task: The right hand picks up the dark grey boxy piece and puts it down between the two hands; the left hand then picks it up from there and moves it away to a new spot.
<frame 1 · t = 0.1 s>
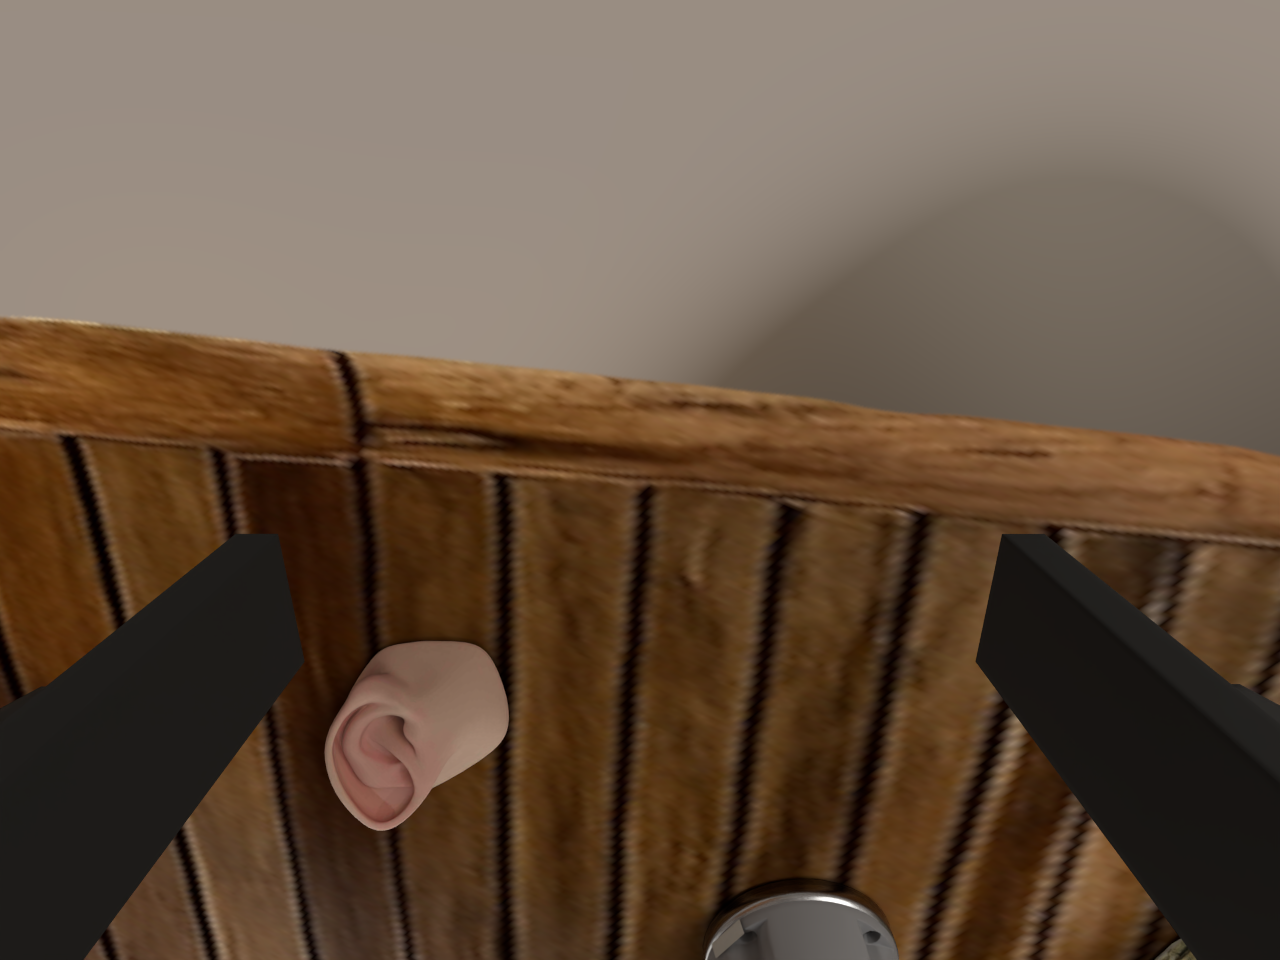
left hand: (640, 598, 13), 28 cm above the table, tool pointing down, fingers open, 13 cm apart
anatomical model: (424, 712, 48), on the table
fossil: (1200, 954, 57), on the table
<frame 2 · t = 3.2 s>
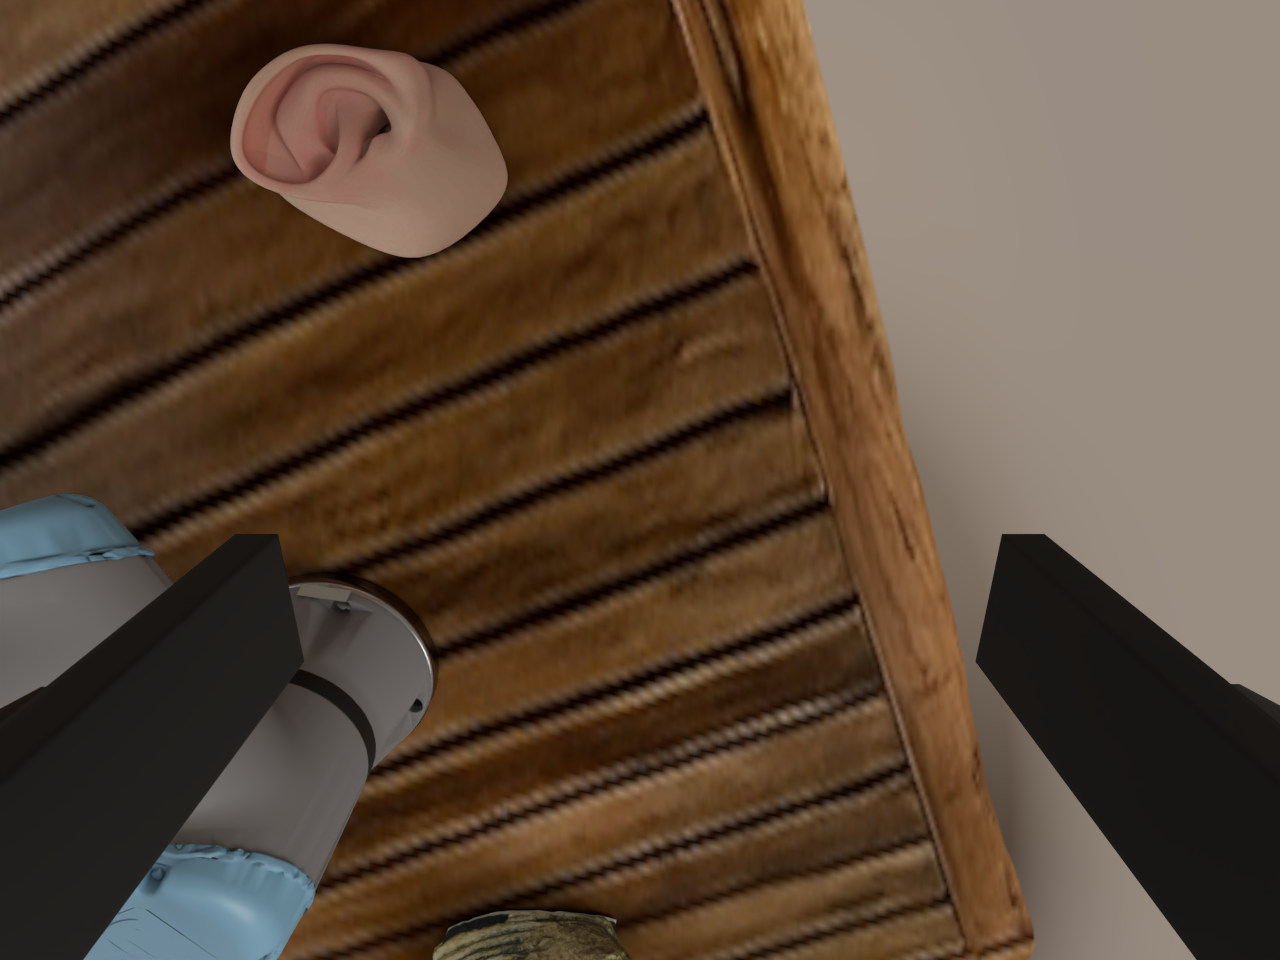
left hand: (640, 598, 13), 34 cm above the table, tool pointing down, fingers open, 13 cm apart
anatomical model: (388, 154, 41), on the table
fossil: (540, 933, 65), on the table
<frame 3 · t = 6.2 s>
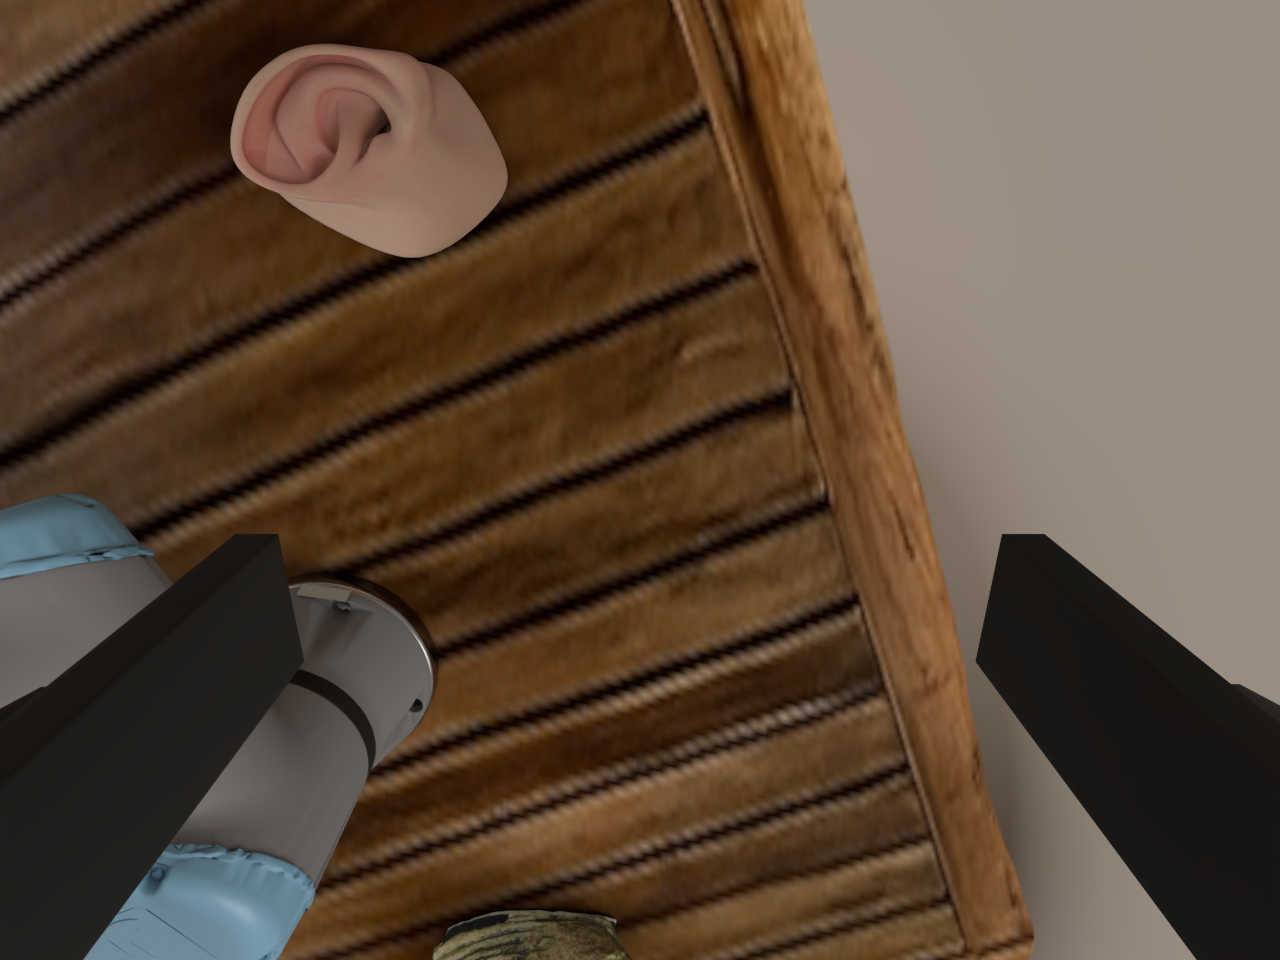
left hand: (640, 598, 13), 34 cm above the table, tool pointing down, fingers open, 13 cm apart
anatomical model: (388, 154, 41), on the table
fossil: (540, 933, 65), on the table
when the right hand's fingers open (2 cm above the table, at t = 9.5 s): dark grey boxy piece drops 1 cm, on the table.
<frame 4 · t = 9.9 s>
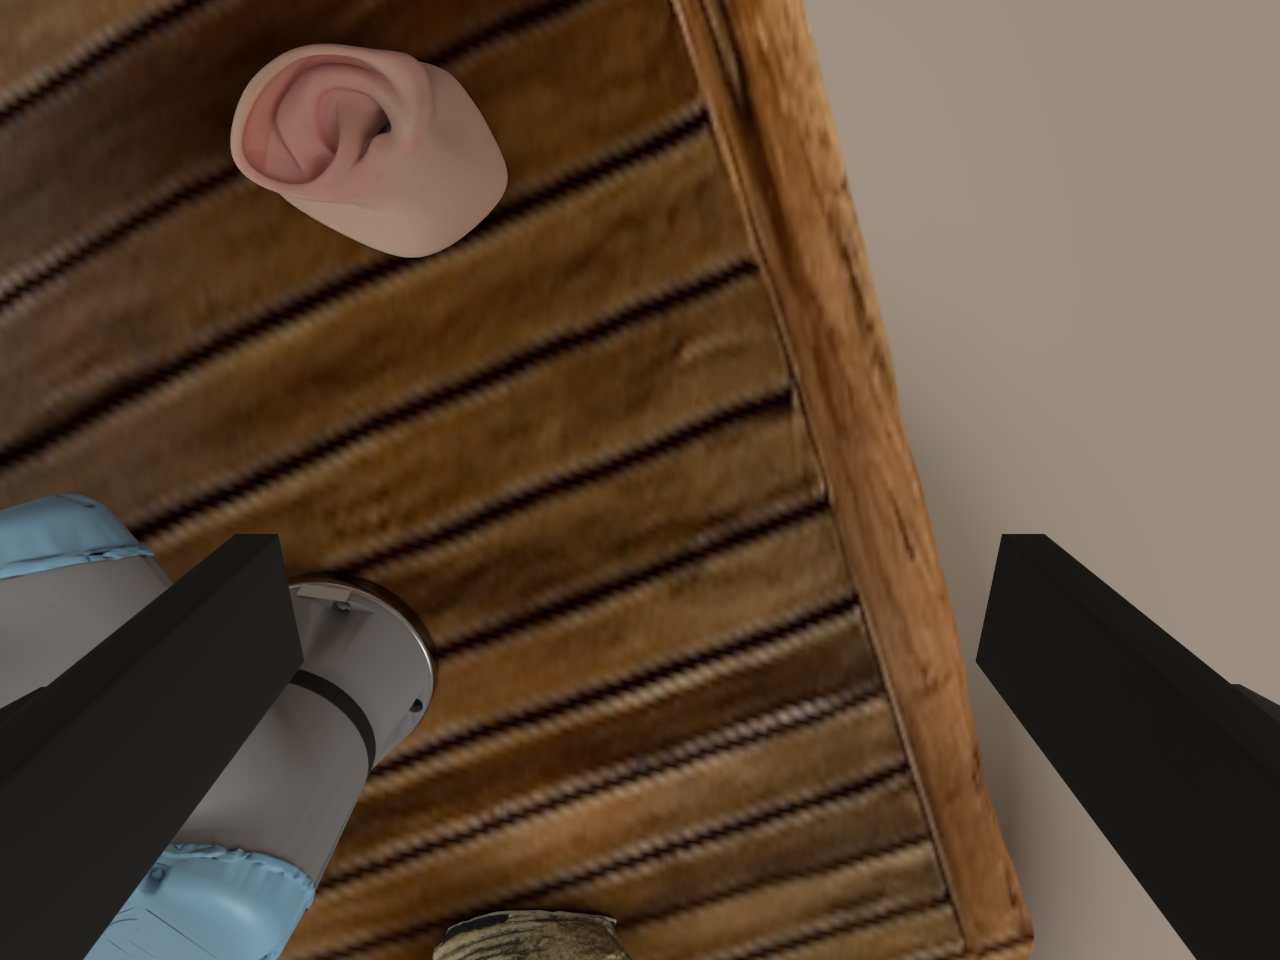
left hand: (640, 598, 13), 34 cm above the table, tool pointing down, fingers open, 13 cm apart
anatomical model: (388, 154, 41), on the table
fossil: (540, 933, 65), on the table
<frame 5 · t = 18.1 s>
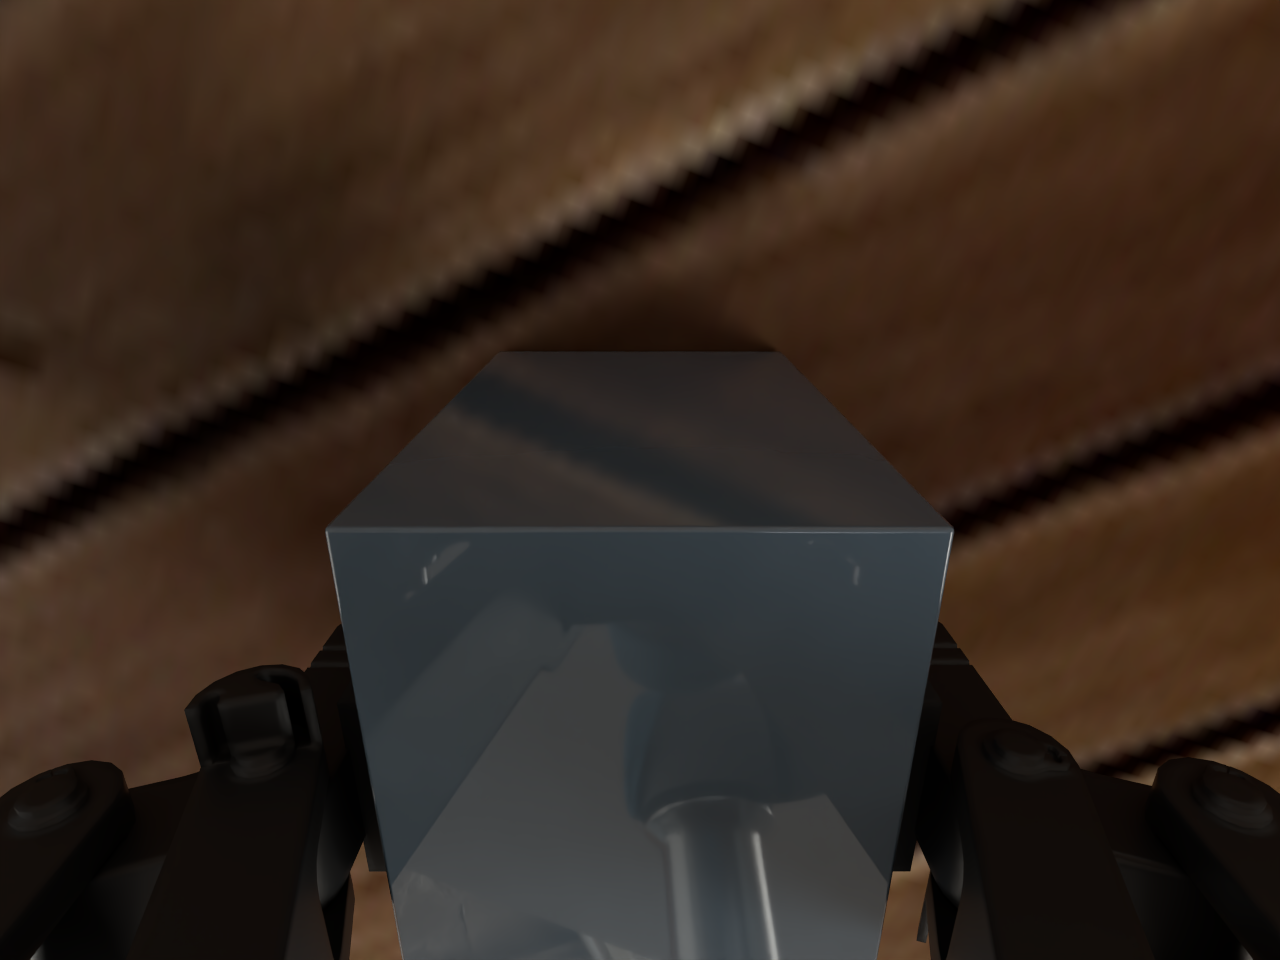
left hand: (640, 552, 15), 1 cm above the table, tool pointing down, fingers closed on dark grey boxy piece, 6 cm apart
dark grey boxy piece: (639, 538, 15), on the table, touching left hand
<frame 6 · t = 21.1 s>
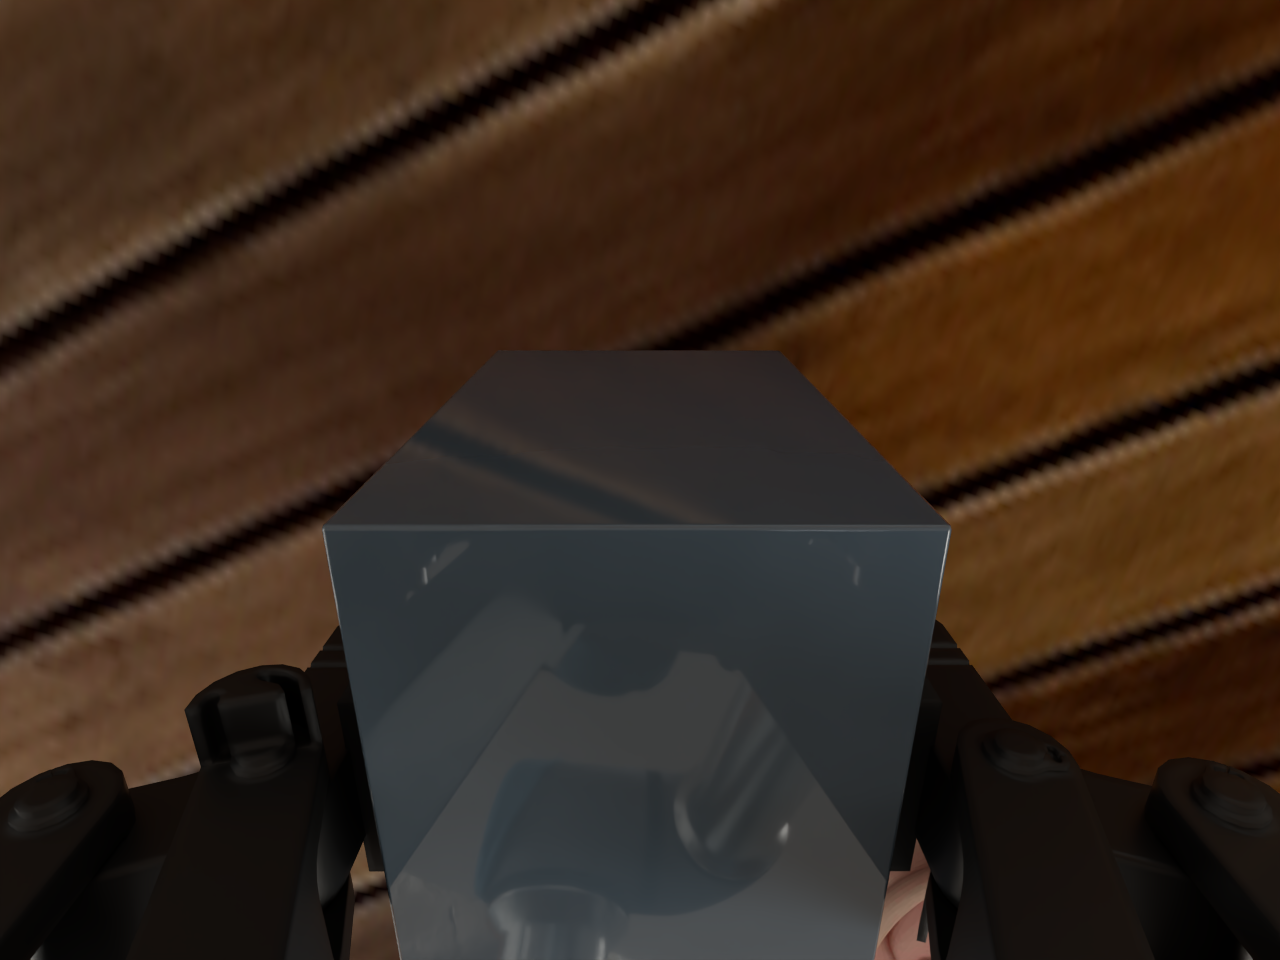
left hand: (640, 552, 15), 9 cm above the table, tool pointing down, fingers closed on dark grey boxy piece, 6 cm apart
anatomical model: (976, 898, 31), on the table
dark grey boxy piece: (638, 537, 15), point 8 cm above the table, touching left hand
when the left hand's fingers open (2 cm above the table, at t = 24.1 s): dark grey boxy piece stays where it is, on the table.
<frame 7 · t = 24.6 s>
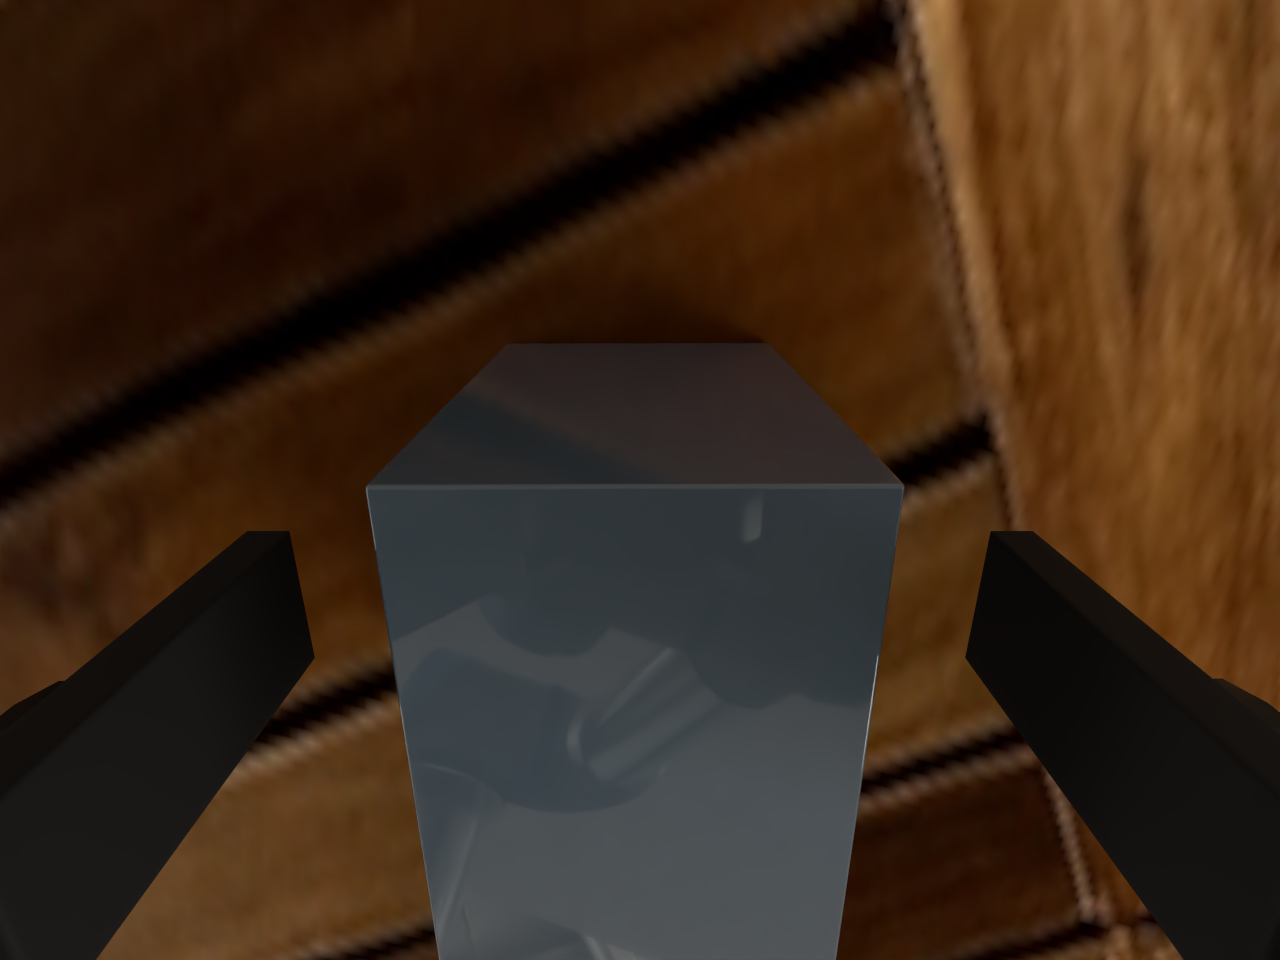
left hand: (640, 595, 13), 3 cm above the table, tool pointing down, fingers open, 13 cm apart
dark grey boxy piece: (638, 518, 16), on the table
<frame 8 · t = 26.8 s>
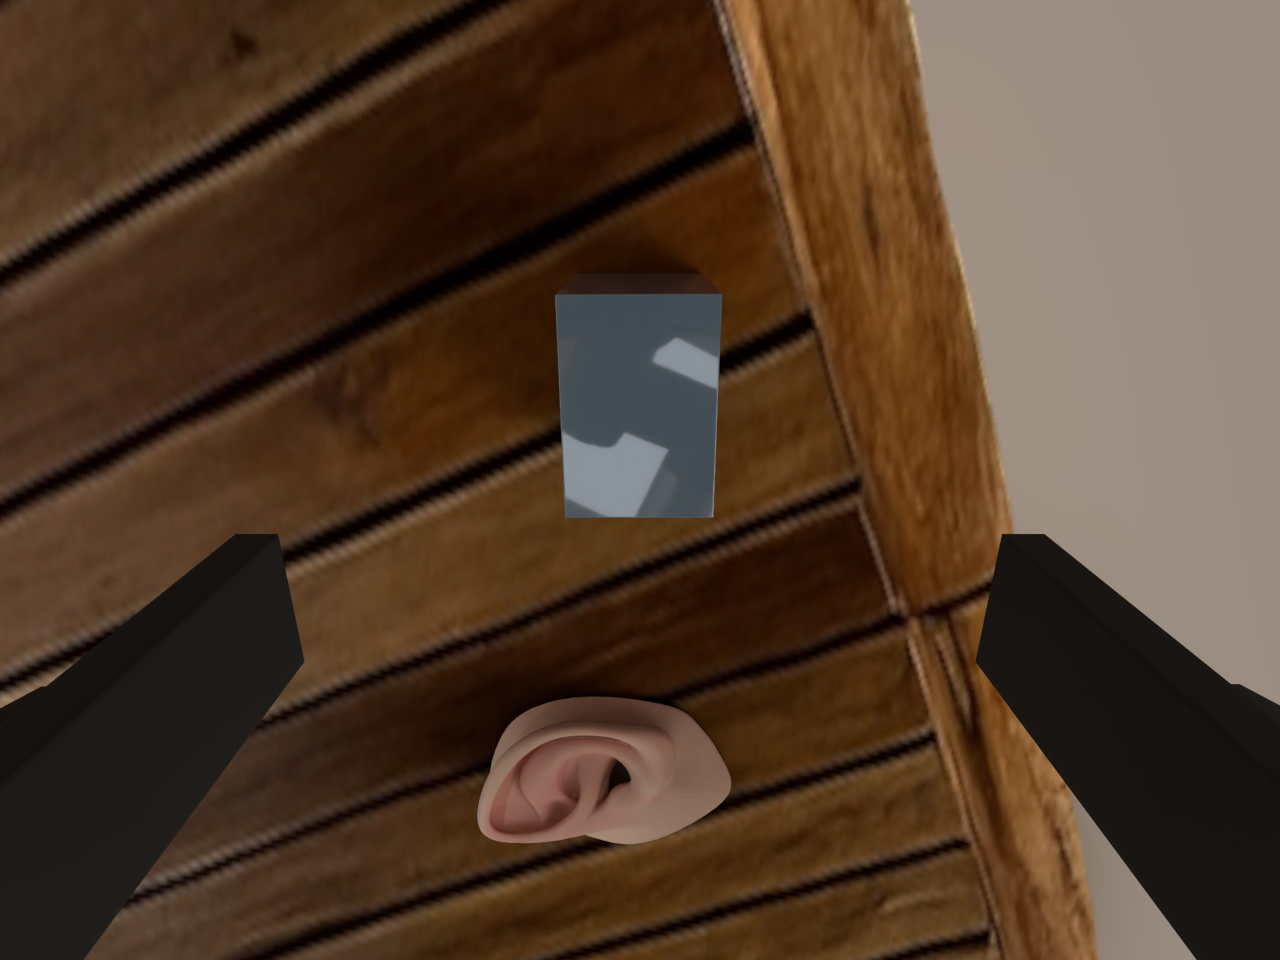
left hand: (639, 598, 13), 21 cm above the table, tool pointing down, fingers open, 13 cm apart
anatomical model: (612, 764, 41), on the table
dark grey boxy piece: (639, 364, 32), on the table
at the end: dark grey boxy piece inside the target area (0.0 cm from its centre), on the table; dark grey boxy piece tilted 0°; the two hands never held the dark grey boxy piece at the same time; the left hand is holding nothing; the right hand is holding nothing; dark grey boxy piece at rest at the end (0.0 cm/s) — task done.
